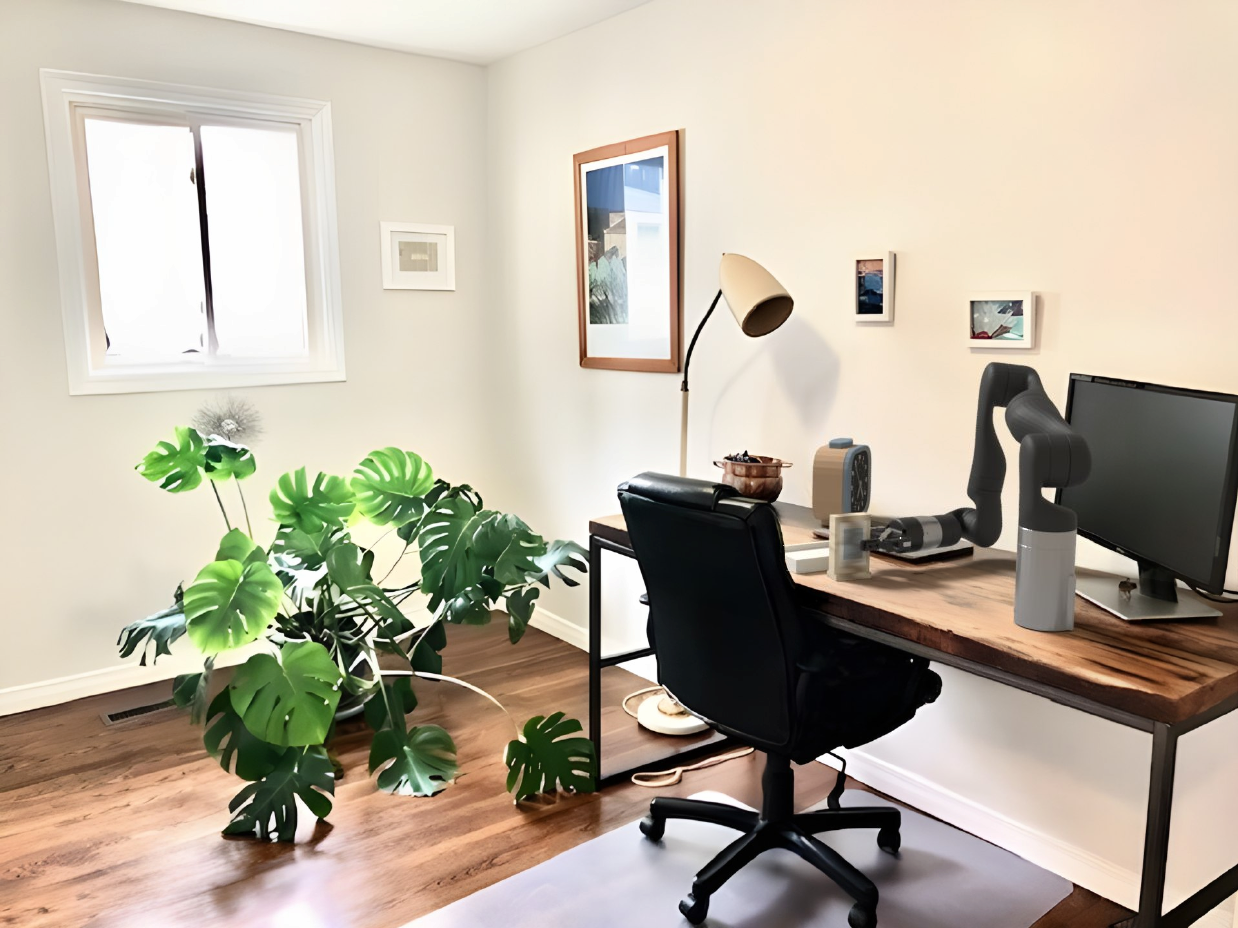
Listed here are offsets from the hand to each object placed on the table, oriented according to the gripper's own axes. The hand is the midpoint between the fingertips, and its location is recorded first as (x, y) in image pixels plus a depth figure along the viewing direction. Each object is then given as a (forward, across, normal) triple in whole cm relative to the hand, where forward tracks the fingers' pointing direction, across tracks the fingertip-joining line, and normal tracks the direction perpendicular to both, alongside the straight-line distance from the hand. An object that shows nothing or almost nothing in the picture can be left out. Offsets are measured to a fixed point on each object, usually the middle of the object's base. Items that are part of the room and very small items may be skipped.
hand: (849, 541), depth 197 cm
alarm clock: (-29, -46, +8) cm, 55 cm away
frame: (0, 0, +8) cm, 8 cm away
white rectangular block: (+2, -10, +8) cm, 13 cm away
